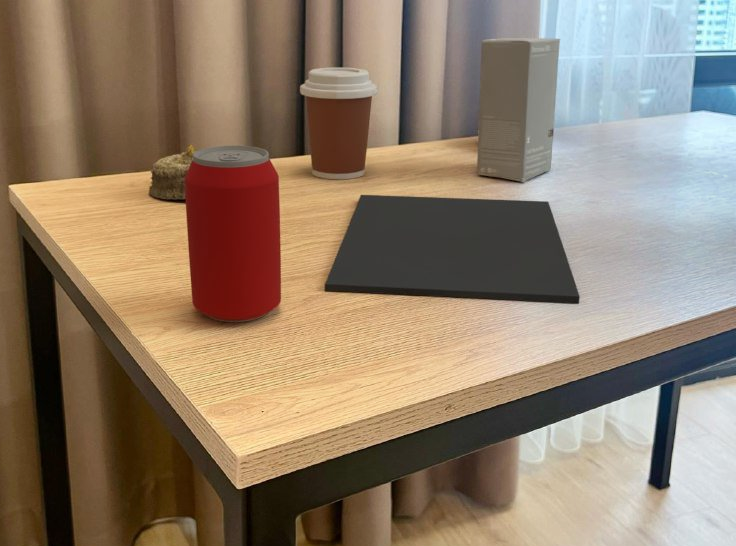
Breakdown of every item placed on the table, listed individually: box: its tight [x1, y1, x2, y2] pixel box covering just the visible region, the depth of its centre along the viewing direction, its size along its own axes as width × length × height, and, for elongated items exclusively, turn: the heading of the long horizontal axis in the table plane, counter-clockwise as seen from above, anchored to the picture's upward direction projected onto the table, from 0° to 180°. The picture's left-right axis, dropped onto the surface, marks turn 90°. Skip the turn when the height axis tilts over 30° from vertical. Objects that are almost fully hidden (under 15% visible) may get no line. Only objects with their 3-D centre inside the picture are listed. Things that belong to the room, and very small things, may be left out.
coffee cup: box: [299, 67, 379, 180], centre depth 107 cm, size 9×9×12 cm
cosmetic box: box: [476, 37, 561, 183], centre depth 106 cm, size 8×7×16 cm
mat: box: [324, 194, 581, 304], centre depth 84 cm, size 20×28×1 cm
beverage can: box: [185, 145, 282, 323], centre depth 66 cm, size 7×7×12 cm
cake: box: [148, 143, 196, 201], centre depth 100 cm, size 10×10×5 cm
